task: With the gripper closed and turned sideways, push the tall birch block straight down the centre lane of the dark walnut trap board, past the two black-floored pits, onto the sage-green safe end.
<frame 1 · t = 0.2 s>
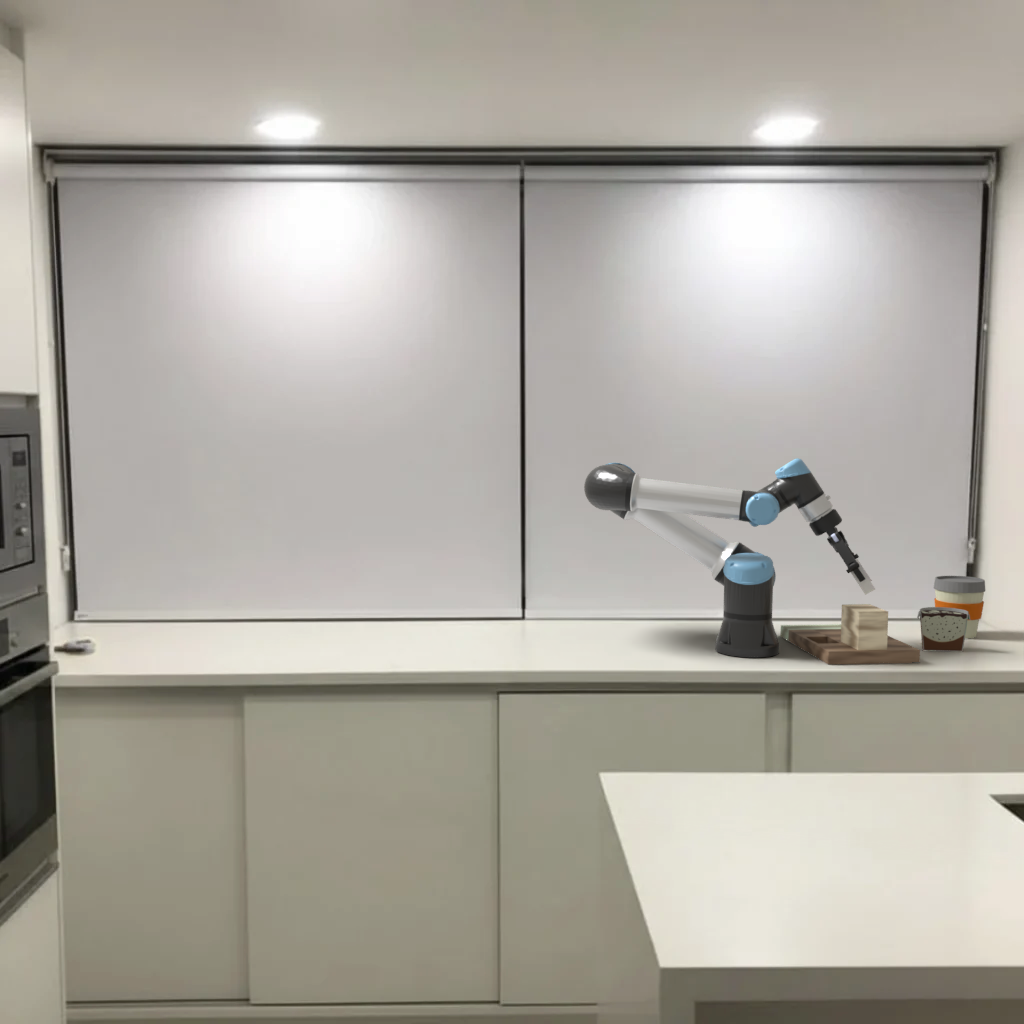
hand: (868, 587, 261), 15 cm above the counter, tool tilted 35°, fingers open, 13 cm apart
block: (863, 645, 249), point 3 cm above the counter, touching trap board
trap board: (846, 648, 260), on the counter
food container: (939, 649, 260), on the counter
reusable coffee cup: (957, 636, 277), on the counter
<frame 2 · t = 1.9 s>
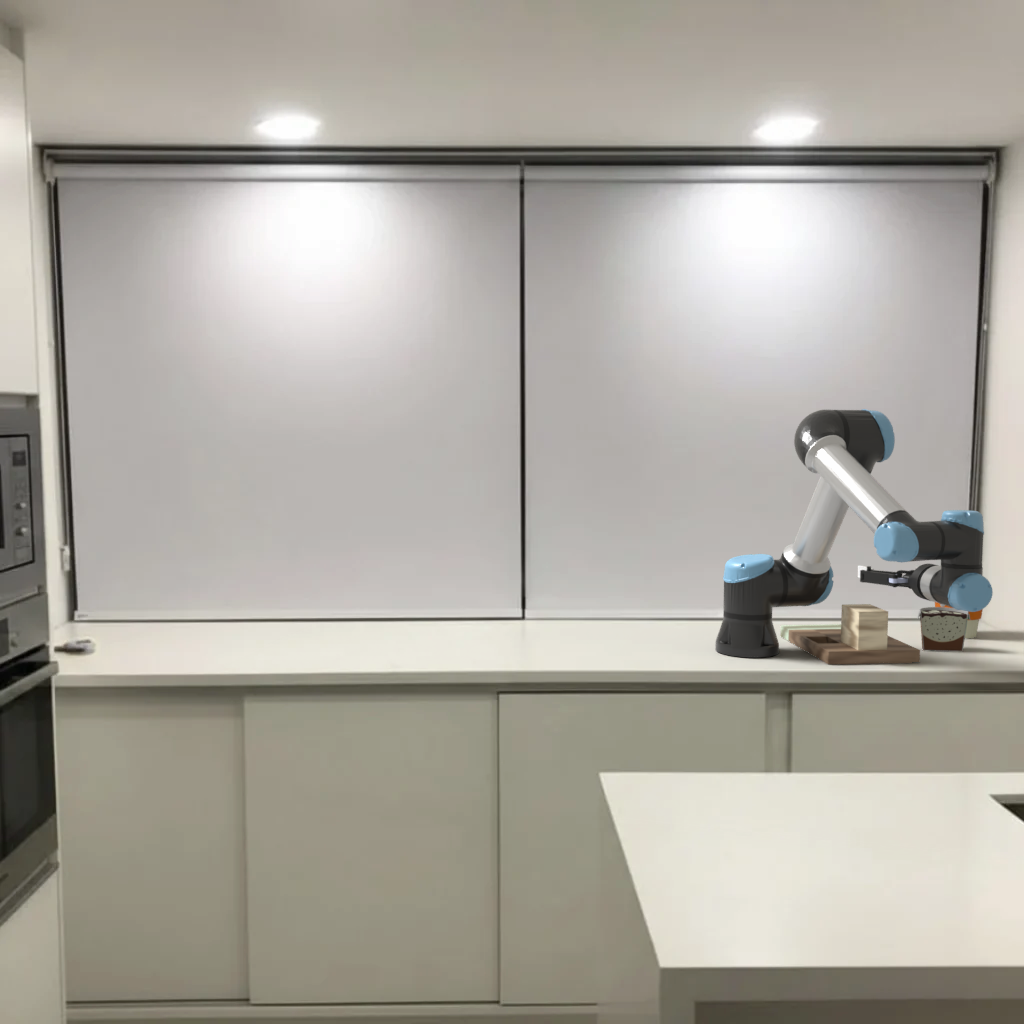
hand: (888, 570, 237), 22 cm above the counter, tool horizontal, fingers open, 13 cm apart
nothing on the counter moved.
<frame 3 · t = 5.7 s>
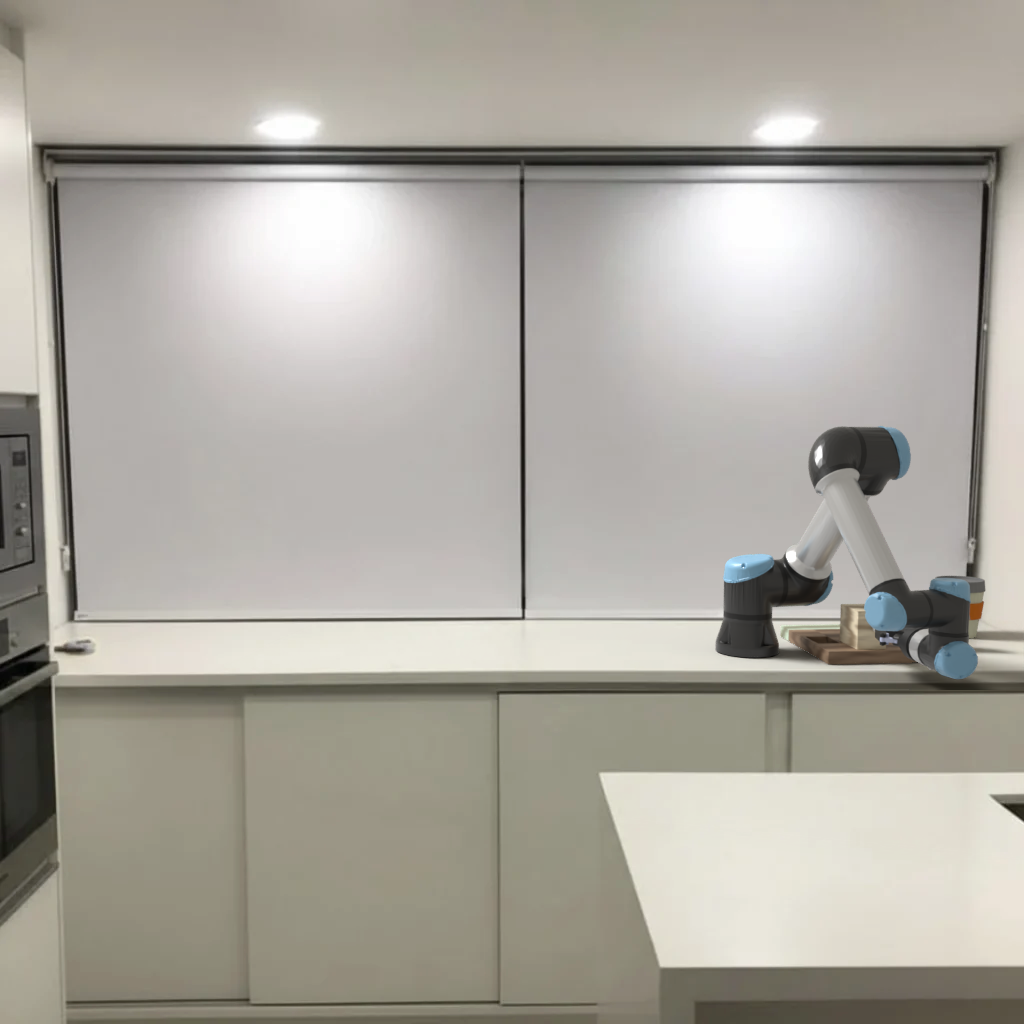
hand: (876, 624, 244), 9 cm above the counter, tool horizontal, fingers closed
nothing on the counter moved.
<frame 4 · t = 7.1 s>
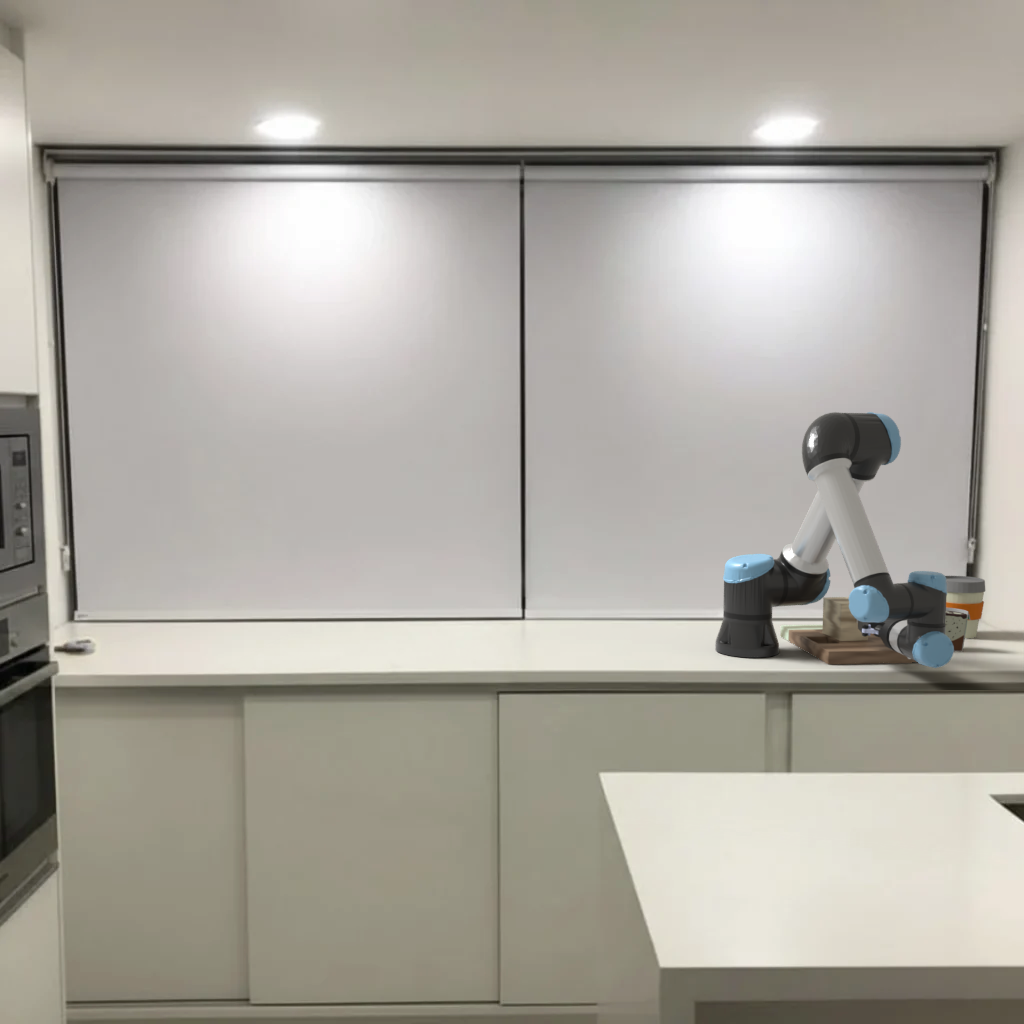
hand: (859, 617, 254), 9 cm above the counter, tool horizontal, fingers closed
block: (844, 636, 260), point 3 cm above the counter
everything else where it was.
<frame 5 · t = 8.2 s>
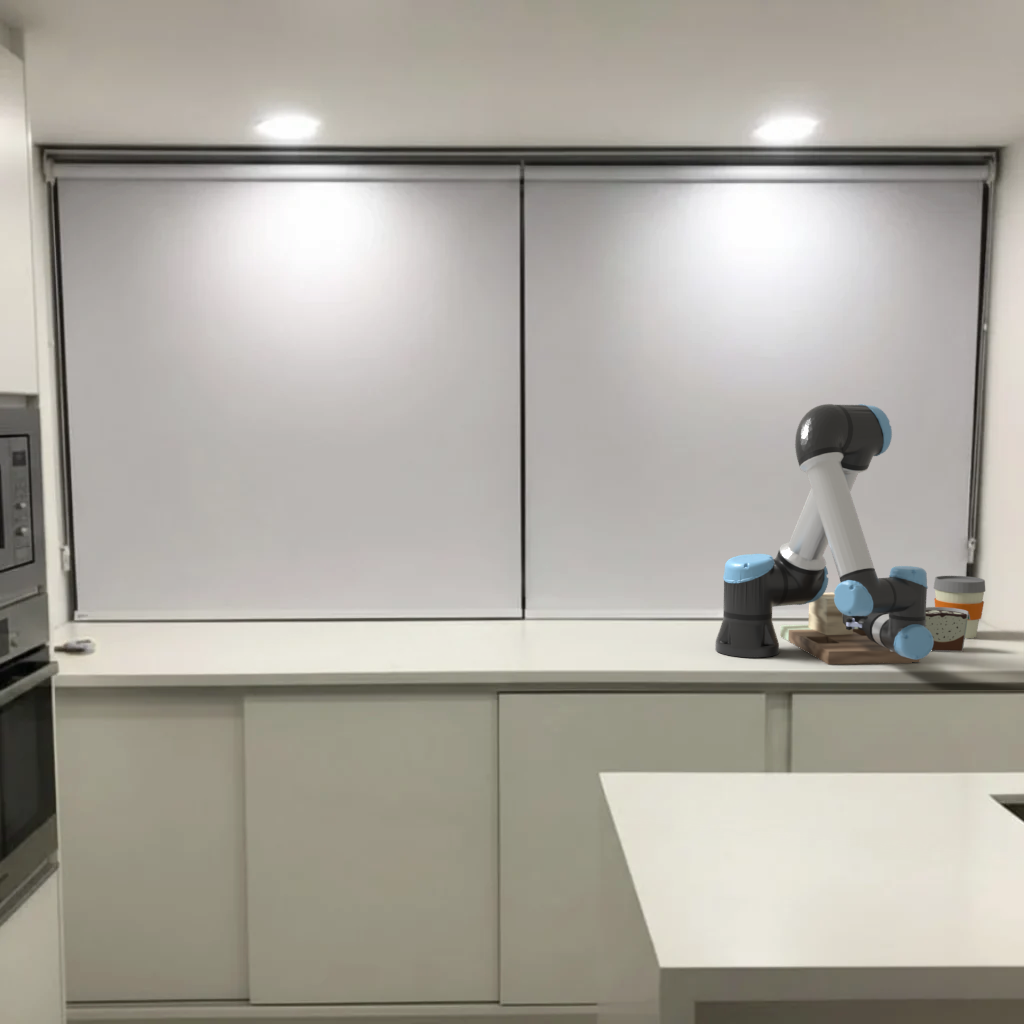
hand: (844, 611, 262), 9 cm above the counter, tool horizontal, fingers closed
block: (830, 630, 267), point 3 cm above the counter
everything else where it was.
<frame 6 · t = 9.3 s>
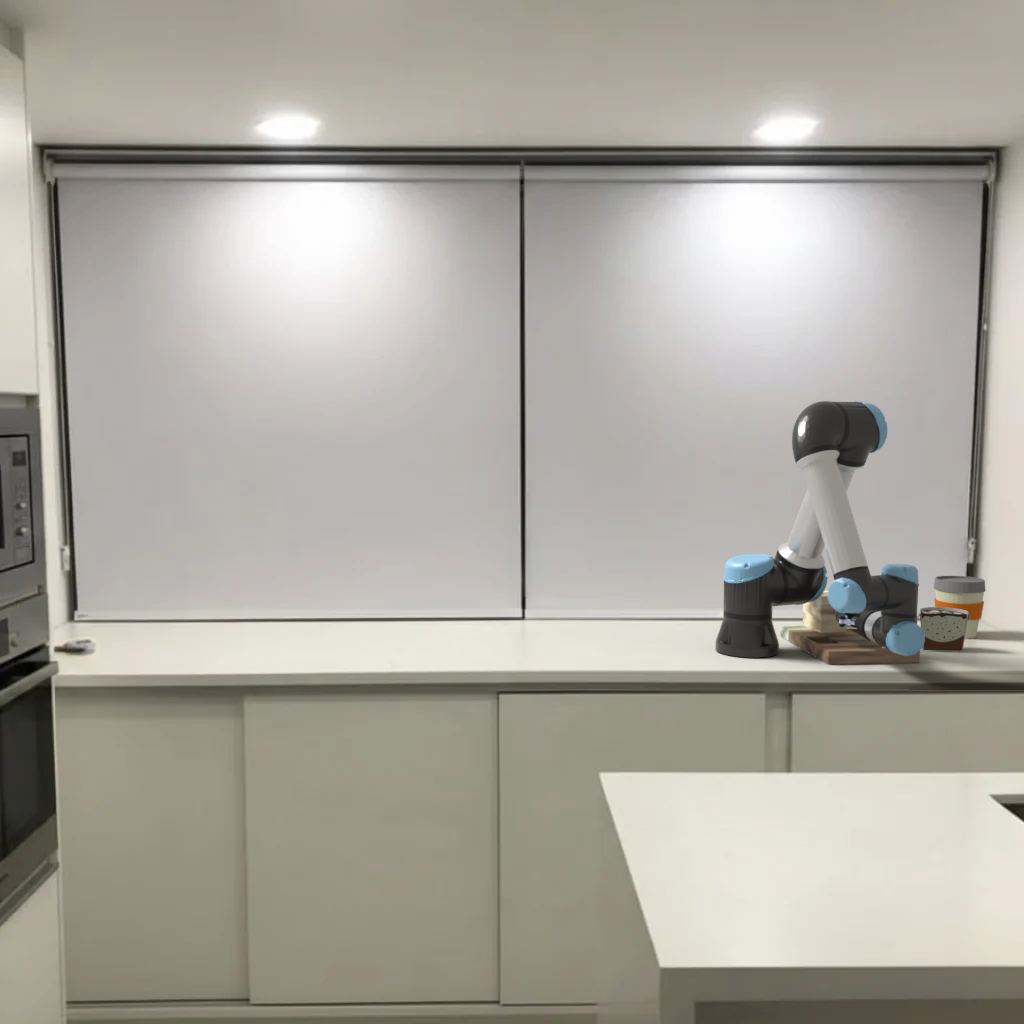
hand: (838, 608, 264), 9 cm above the counter, tool horizontal, fingers closed
block: (824, 628, 270), point 3 cm above the counter, touching gripper, trap board
everything else where it was.
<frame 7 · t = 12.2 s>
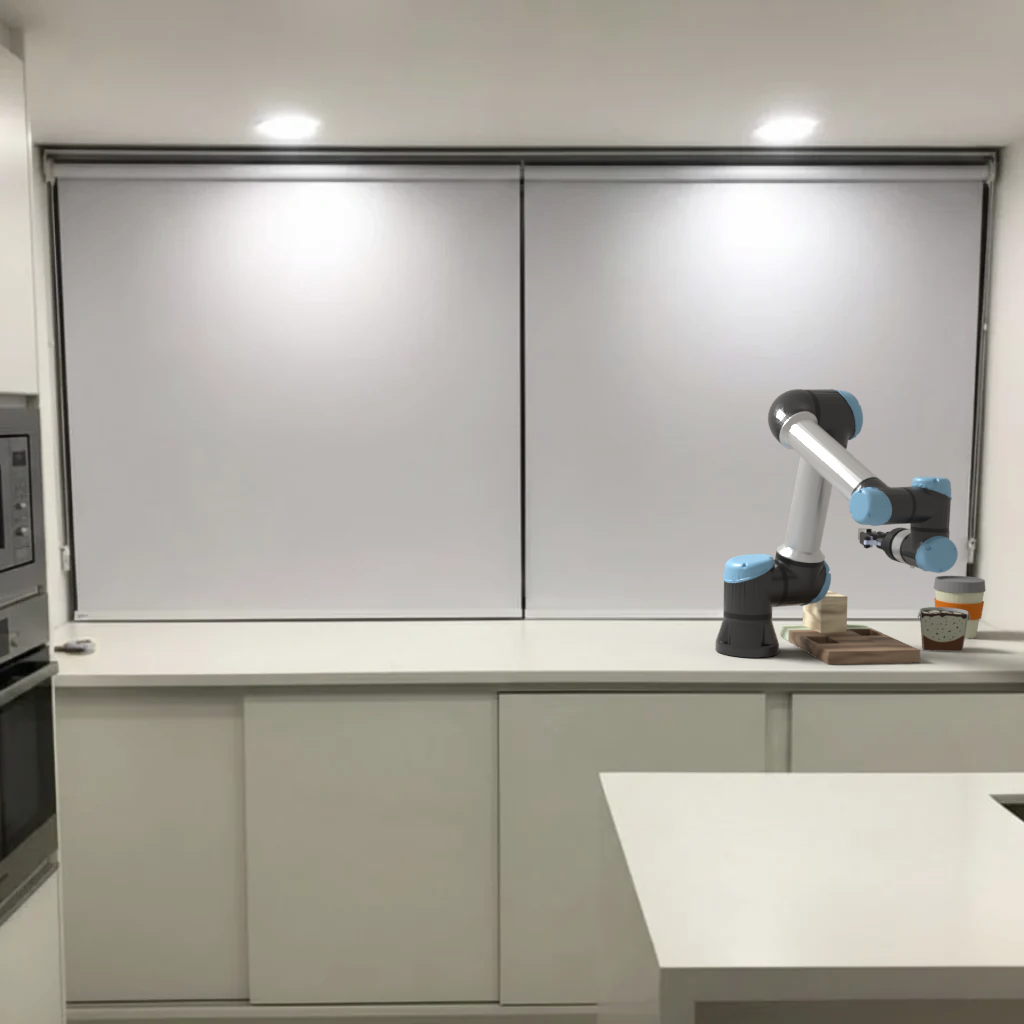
hand: (861, 533, 251), 29 cm above the counter, tool horizontal, fingers closed
block: (824, 628, 270), point 3 cm above the counter, touching trap board
everything else where it was.
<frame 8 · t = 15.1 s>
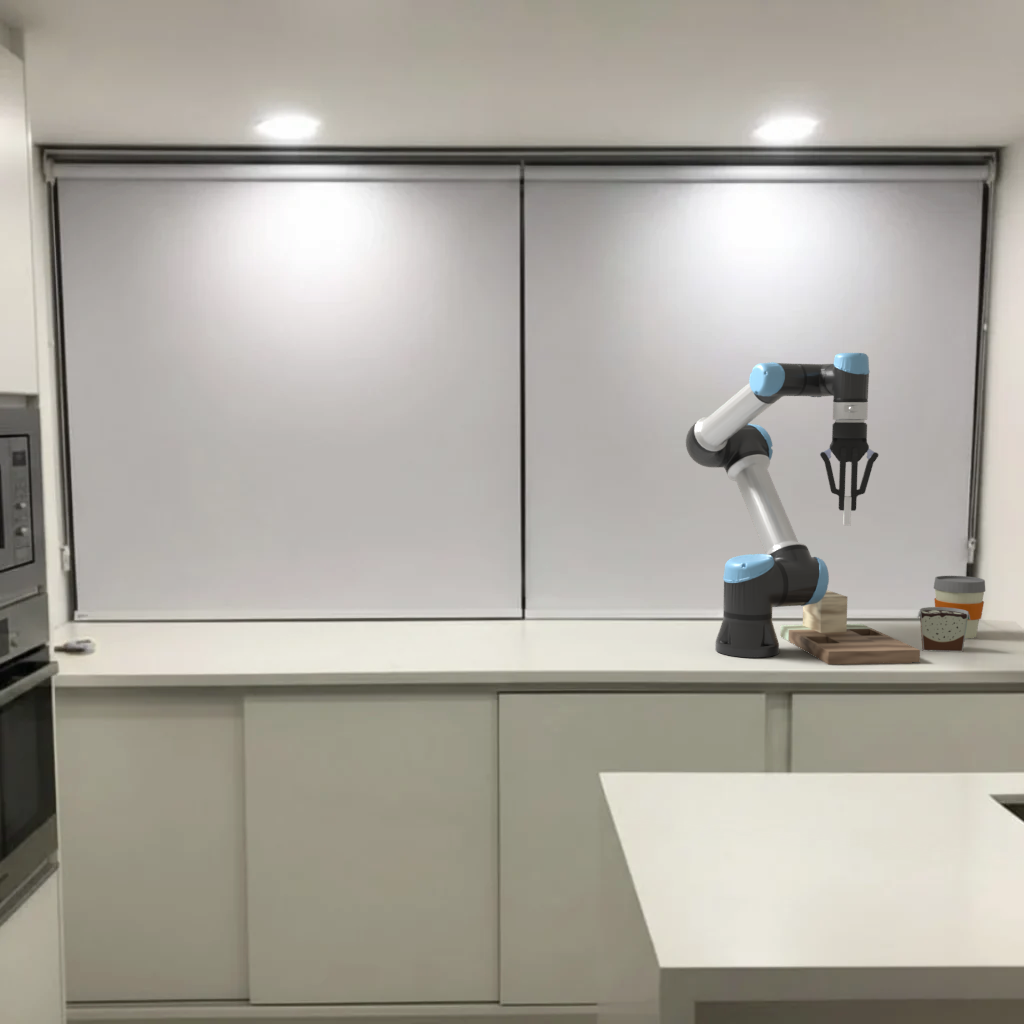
hand: (846, 524, 241), 32 cm above the counter, tool pointing down, fingers closed
nothing on the counter moved.
at the end: block inside the target area on the trap board (1.6 cm from its centre), point 3.0 cm above the trap board's base; block tilted 0°; block touching trap board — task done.
